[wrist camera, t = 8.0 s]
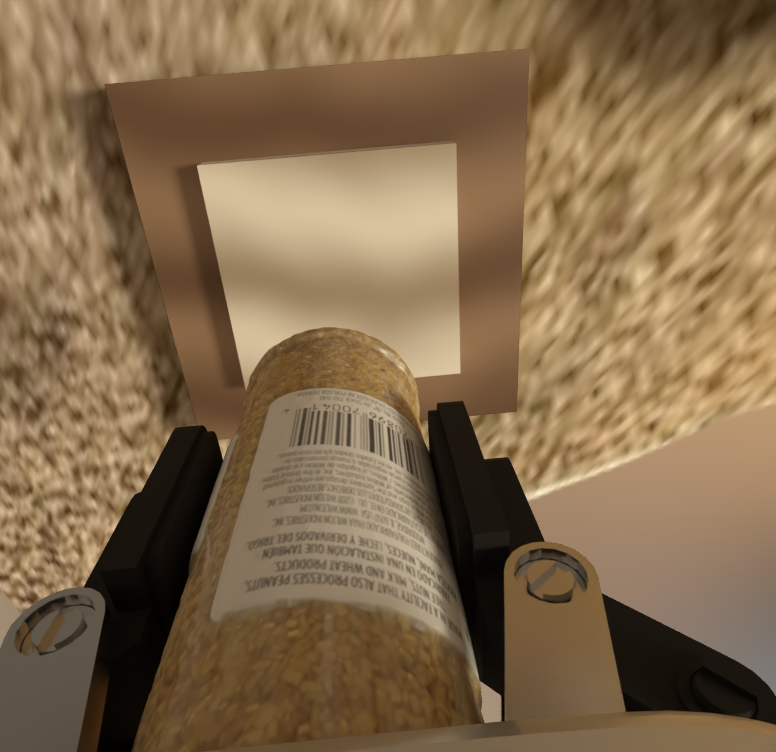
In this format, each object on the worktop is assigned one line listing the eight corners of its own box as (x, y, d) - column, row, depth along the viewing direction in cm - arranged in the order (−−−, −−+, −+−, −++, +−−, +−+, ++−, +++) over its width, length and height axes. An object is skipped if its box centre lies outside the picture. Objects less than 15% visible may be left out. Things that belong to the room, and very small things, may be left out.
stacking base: (123, 84, 23) (93, 84, 20) (515, 51, 23) (536, 46, 20) (210, 420, 30) (196, 452, 27) (507, 392, 30) (521, 421, 28)
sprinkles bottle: (214, 417, 15) (-364, 1774, 3) (313, 284, 13) (-29, 1943, 1) (354, 497, 16) (356, 1619, 4) (457, 385, 15) (896, 1621, 3)
